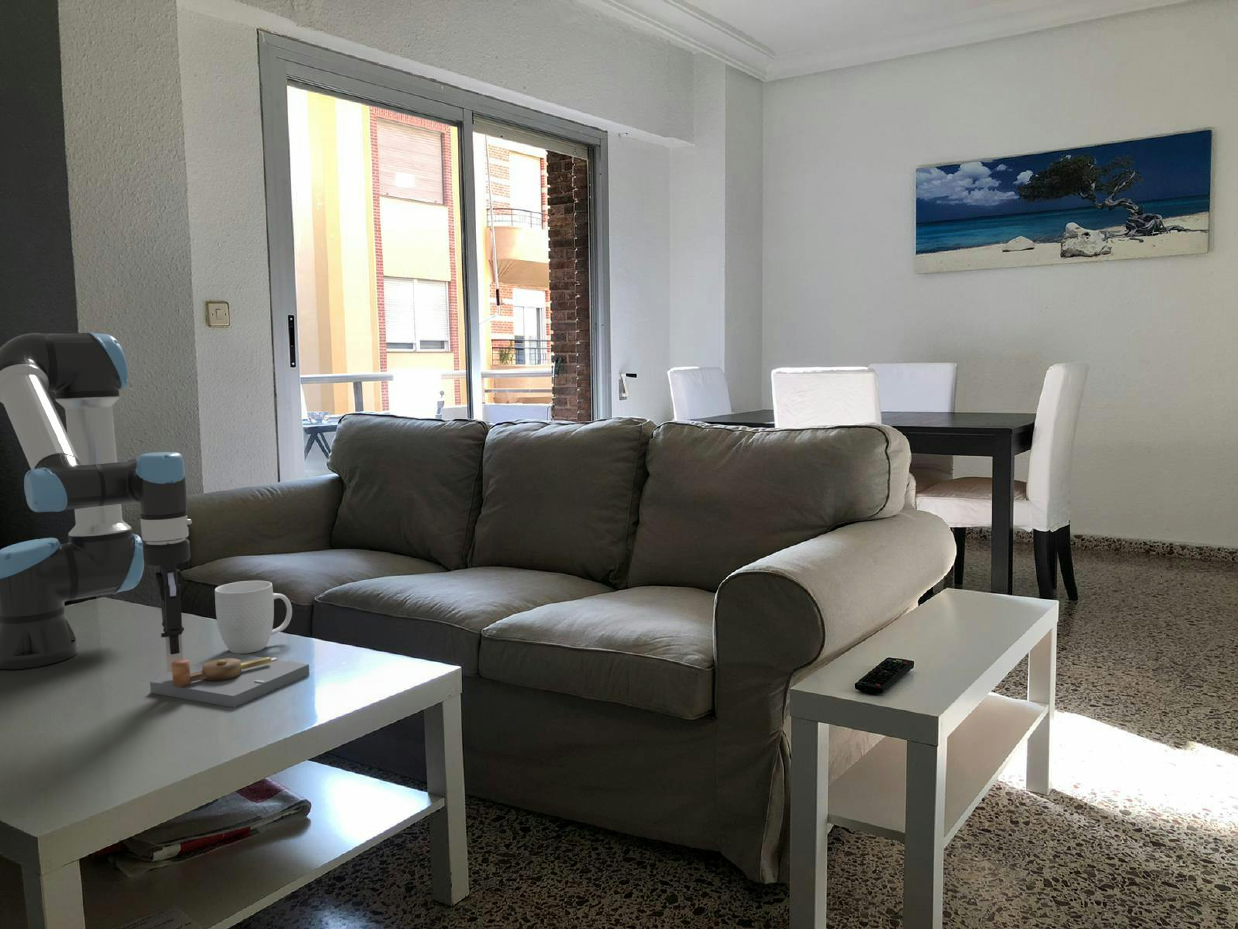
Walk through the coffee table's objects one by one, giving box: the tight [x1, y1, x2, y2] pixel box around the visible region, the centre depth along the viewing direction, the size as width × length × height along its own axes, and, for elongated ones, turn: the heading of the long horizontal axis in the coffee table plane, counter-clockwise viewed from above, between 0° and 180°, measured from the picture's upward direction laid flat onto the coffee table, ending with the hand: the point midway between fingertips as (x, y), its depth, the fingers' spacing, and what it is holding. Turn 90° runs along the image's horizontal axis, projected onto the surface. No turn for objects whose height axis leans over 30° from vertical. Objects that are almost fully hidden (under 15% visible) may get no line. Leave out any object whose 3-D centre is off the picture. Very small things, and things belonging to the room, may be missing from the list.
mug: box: [214, 580, 293, 655], centre depth 196 cm, size 15×11×13 cm
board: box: [149, 652, 310, 708], centre depth 175 cm, size 20×18×2 cm
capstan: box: [171, 656, 272, 687], centre depth 173 cm, size 17×6×4 cm, turn 133°
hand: (175, 669), depth 172 cm, fingers closed
